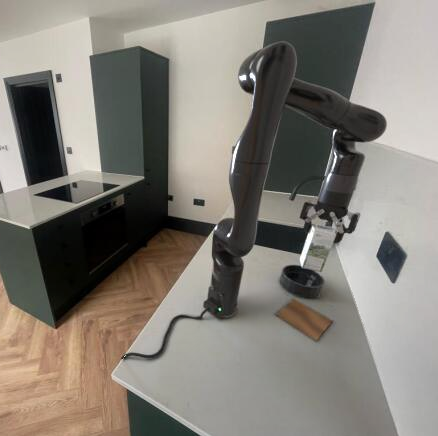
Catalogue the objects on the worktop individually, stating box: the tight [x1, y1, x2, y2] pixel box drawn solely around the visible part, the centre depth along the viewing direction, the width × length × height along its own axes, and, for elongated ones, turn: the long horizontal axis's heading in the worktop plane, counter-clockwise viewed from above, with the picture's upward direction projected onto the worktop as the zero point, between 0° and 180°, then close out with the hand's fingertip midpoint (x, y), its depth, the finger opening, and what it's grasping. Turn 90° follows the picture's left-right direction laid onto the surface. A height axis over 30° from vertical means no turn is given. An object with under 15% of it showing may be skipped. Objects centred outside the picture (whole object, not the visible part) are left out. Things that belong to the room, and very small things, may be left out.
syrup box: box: [299, 223, 337, 273], centre depth 75 cm, size 6×6×14 cm
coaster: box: [275, 299, 333, 342], centre depth 76 cm, size 12×12×1 cm
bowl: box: [278, 264, 325, 299], centre depth 89 cm, size 14×14×6 cm
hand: (320, 237), depth 74 cm, fingers closed on syrup box, 7 cm apart
